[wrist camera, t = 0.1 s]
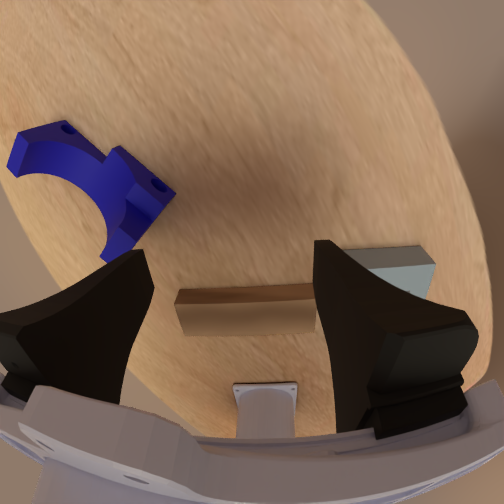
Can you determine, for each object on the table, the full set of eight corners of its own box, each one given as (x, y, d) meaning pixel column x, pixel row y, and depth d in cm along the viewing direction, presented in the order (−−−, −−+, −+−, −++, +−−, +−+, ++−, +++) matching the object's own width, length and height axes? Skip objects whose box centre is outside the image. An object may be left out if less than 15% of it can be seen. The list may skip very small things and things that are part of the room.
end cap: (396, 330, 27) (405, 350, 24) (328, 338, 28) (332, 360, 25) (420, 245, 22) (436, 263, 19) (338, 250, 22) (347, 270, 20)
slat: (311, 314, 26) (314, 332, 24) (189, 318, 27) (184, 336, 25) (312, 280, 24) (316, 298, 22) (180, 286, 25) (173, 304, 23)
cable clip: (176, 192, 21) (149, 225, 15) (146, 230, 22) (116, 270, 17) (74, 104, 17) (25, 113, 12) (52, 147, 18) (6, 166, 13)
